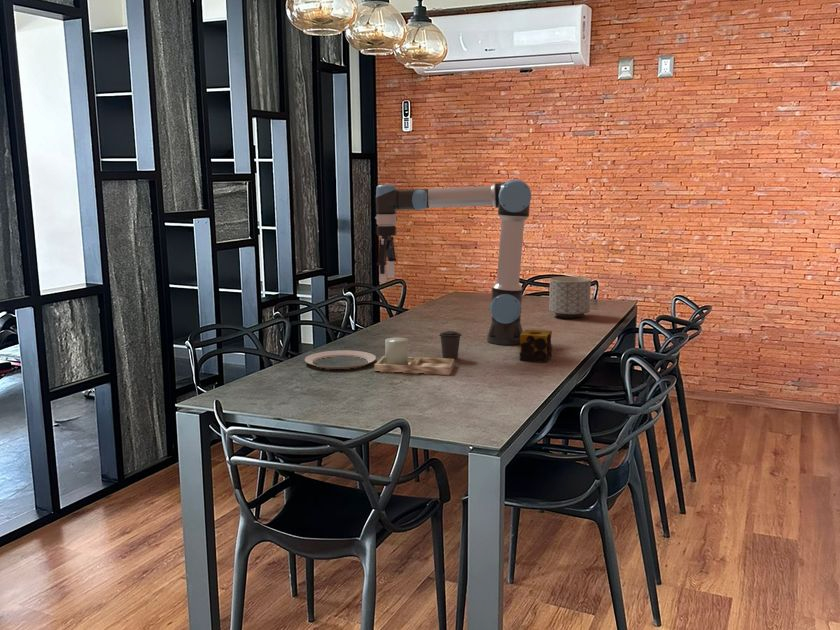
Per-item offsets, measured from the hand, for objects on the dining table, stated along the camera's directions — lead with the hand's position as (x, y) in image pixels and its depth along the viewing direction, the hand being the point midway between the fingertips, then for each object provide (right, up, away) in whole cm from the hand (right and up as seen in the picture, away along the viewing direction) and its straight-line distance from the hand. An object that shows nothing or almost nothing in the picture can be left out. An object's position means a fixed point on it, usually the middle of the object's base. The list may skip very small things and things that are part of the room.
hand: (387, 280), depth 304 cm
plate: (-16, -31, -24) cm, 42 cm away
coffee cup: (+24, -30, -18) cm, 42 cm away
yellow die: (+55, -30, -18) cm, 66 cm away
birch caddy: (+11, -32, -33) cm, 47 cm away
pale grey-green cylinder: (+5, -32, -32) cm, 45 cm away
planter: (+84, -15, +67) cm, 108 cm away
